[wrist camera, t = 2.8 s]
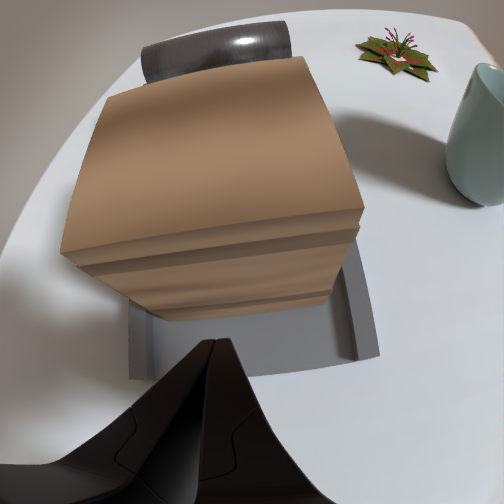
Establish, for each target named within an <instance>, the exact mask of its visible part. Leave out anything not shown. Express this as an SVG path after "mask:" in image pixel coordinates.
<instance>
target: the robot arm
mask: <svg viewBox="0 0 504 504" xmlns="http://www.w3.org/2000/svg"><path fill="white" fill-rule="evenodd" d="M0 504H336V503H335V502H333V501H332V500H330V499H329V498H327V497H326V496H325V495H323V494H322V493H321V492H320V491H319V490H318V489H317V488H316V487H315V486H314V485H313V484H312V483H311V481H310V480H309V479H308V478H307V477H306V475H305V474H304V473H303V472H302V470H301V469H300V468H299V467H298V465H297V464H296V463H295V461H294V460H293V459H292V458H291V456H290V455H289V454H288V452H287V451H286V450H285V448H284V447H283V446H282V444H281V443H280V441H279V440H278V438H277V437H276V435H275V434H274V432H273V431H272V429H271V427H270V425H269V423H268V421H267V419H266V417H265V415H264V413H263V411H262V409H261V407H260V405H259V402H258V400H257V398H256V396H255V394H254V391H253V389H252V387H251V385H250V382H249V380H248V378H247V376H246V373H245V371H244V369H243V366H242V364H241V362H240V359H239V357H238V355H237V352H236V350H235V348H234V345H233V343H232V341H231V339H230V338H218V339H217V340H216V339H204V340H202V341H200V342H199V343H198V344H197V345H196V346H195V347H194V348H193V349H192V350H191V351H190V352H189V353H188V354H187V355H186V356H184V357H183V358H182V359H181V360H180V361H179V362H178V363H177V364H176V365H175V366H174V367H173V368H172V369H171V370H170V371H168V372H167V373H166V374H165V375H164V376H163V377H162V378H161V379H160V380H159V381H158V382H157V383H156V384H154V385H153V386H152V387H151V388H150V389H149V390H148V391H147V392H146V393H145V394H144V395H142V396H141V397H140V398H139V399H138V400H137V401H136V402H135V403H134V404H133V405H132V406H131V407H129V408H128V409H127V410H126V411H125V412H124V413H122V414H121V415H120V416H119V417H118V418H117V419H115V420H114V421H113V422H112V423H111V424H110V425H108V426H107V427H106V428H104V429H103V430H102V431H100V432H99V433H98V434H96V435H95V436H94V437H92V438H91V439H89V440H88V441H86V442H85V443H84V444H82V445H81V446H79V447H78V448H76V449H75V450H73V451H72V452H70V453H69V454H68V455H66V456H65V457H63V458H61V459H59V460H57V461H55V462H52V463H48V464H41V465H15V464H0Z"/></svg>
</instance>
